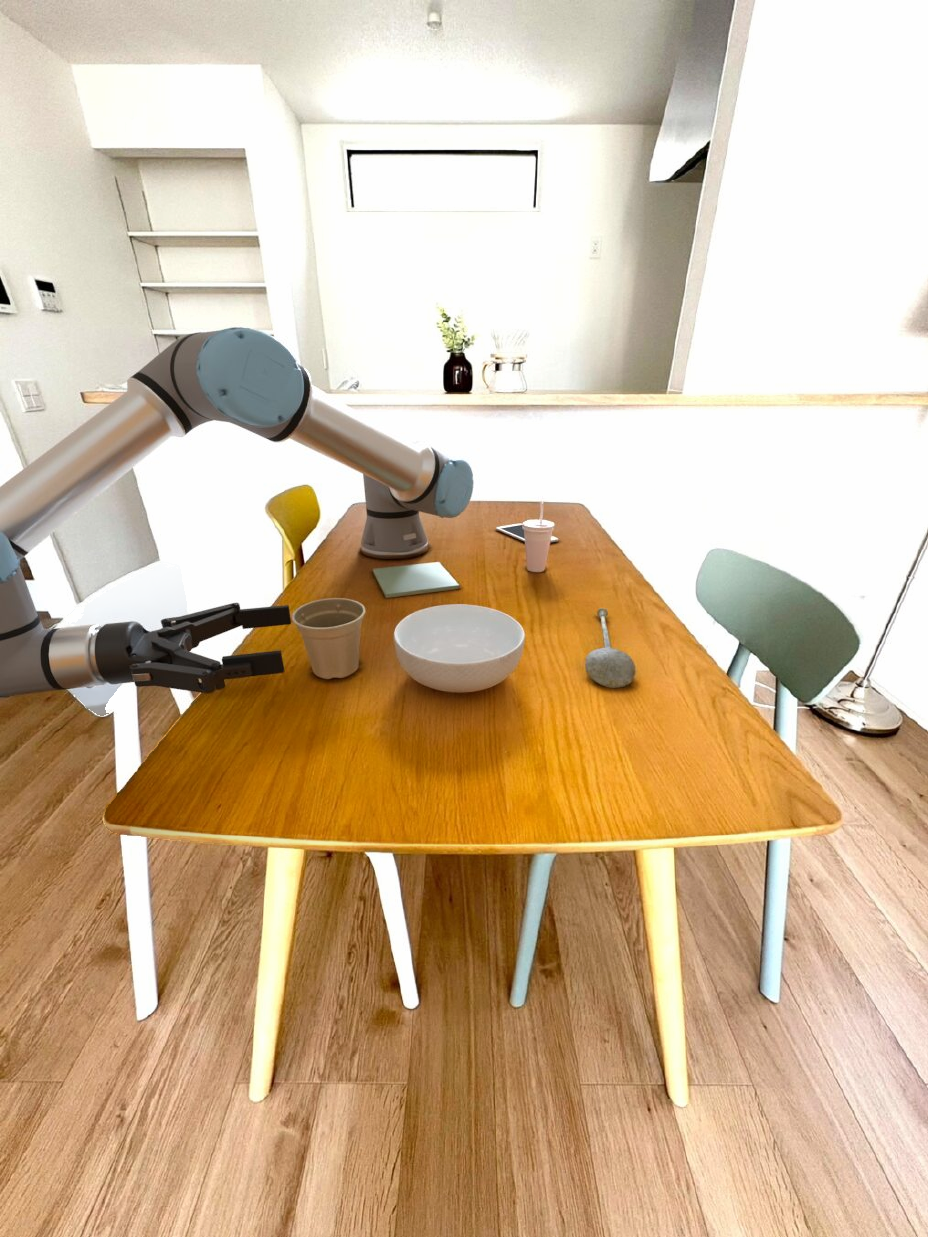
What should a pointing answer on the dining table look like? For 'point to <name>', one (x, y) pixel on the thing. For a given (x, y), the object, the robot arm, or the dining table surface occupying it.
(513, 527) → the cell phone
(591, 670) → the soupspoon
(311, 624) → the flower pot
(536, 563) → the smoothie
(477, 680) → the cereal bowl
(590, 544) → the dining table surface
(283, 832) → the dining table surface
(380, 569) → the pale green notebook
